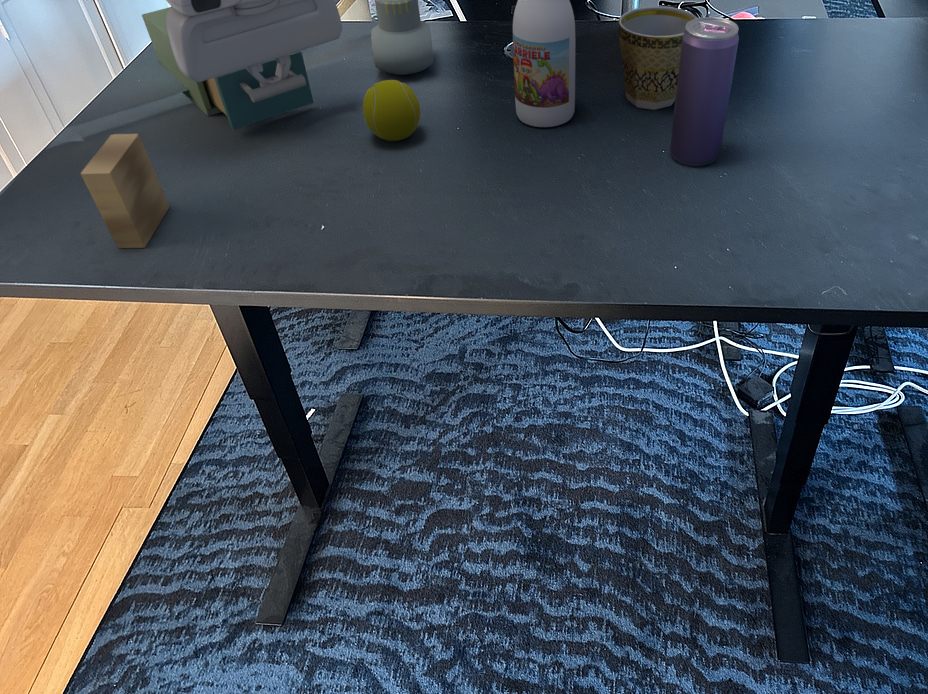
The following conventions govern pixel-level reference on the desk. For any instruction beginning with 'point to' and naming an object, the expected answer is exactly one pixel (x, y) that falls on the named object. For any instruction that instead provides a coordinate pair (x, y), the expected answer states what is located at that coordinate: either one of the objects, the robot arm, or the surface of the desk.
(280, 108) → the drawer
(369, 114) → the tennis ball
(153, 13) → the cabinet
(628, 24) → the ceramic cup
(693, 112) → the beverage can
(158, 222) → the wooden block
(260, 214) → the desk surface
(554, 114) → the milk bottle
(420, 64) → the air freshener
